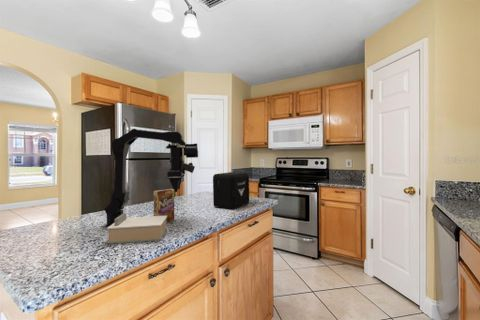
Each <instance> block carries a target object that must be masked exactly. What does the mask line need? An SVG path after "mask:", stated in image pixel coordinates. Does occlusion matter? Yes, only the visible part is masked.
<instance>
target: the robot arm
mask: <svg viewBox="0 0 480 320" xmlns="http://www.w3.org/2000/svg"><path fill="white" fill-rule="evenodd" d="M138 138H139V139H147V140H149V139H150V140H158V141H164V142H166V143H168V144H167V146H165V149H169V152H170V153H169V154H170V157H169V158H170V159H169V163H170V168H169V170H168V172H167V175H166V177H167V179H168V180H169V183H170V185H171V186H172V189H174V193H177V192H178V191H179V190H180V188H181V183H182V179H183V178H184V177H185V175H186V171H187V172H189V173H191V174H193V173H194V171H195V168H196V166H195V165H194V163H192V162H189V163H187V162H186V163H185V160H183V159H184V158H183V156H185V158H186V159H187V158H191V159H192V158H193V159H194V158H196V159H197V158H199V148H198V143H186V141H184V139H183V138H184V137H183V135H182V134H181V133H180V132H179V131H176V130H173V131H161V132H160V131H153V130H146V129H145V130H144V129H137V128H131V130H129V131H128V132H125V134H123V135H121V136H120V137H118V138H114V139H113V140H112V141H111V144H110V145H111V150H112V155H113V157H114V184H113V185H114V189H113V191H112V193H111V197H110V201H109V204H108V205H107V206H106V207H105V208H104V212H105V214H106V224H105V226H104V227H109V226H111V225H112V224H113V223H115V221H114V219H116V218H117V217H119V216H120V215H122V214H123V213H124V209H125V206H126V205H127V204H128V203H129V201H130V200H131V199H130V191H127V189H126V165H127V164H126V162H127V161H126V159H127V156H128V154H129V149H130V146H131V145H133V143H134V142H136V141H137V140H138ZM179 145H180V147H179Z"/></svg>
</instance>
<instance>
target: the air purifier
mask: <svg viewBox="0 0 480 320" xmlns="http://www.w3.org/2000/svg"><path fill="white" fill-rule="evenodd" d="M212 192H213V193H212V195H213V196H212V197H213V199H212V200H213V202H212V203H213V207H215V208H219V209H220V208H222V209H229V210H234V209H238V208H241V207H243V206H246V205H248V204H249V203H250V175H249V174H248V172H236V171H235V172H232V171H231V172H222V173H221V172H220V173H215V174H213V176H212Z"/></svg>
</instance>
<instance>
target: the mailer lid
mask: <svg viewBox="0 0 480 320" xmlns="http://www.w3.org/2000/svg"><path fill="white" fill-rule="evenodd" d="M166 218H167V216H154V215H152V216H151V215H150V216H136V217H135V216H134V217H127V212H123V214H122V215H120V216H119V217H117V218H116V219H114V221H115V223H113V224H112V225H111V226H107V228H106V230H109V229H121V228H138V227H154V226H161V225H162V224H163V222H164V221H165V219H166Z"/></svg>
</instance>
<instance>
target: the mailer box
mask: <svg viewBox="0 0 480 320" xmlns="http://www.w3.org/2000/svg"><path fill="white" fill-rule="evenodd" d="M167 229H168V227H167V222H166V219H165V221H164V222H163V224H162V225H161V226H154V227H138V228H121V229H107V230H108V233H107V234H108V245H110V244H124V243H125V244H126V243H138V242H139V243H140V242H150V241H151V242H153V241H162V239H163V237H164V235H165V234H166V231H167Z"/></svg>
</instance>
